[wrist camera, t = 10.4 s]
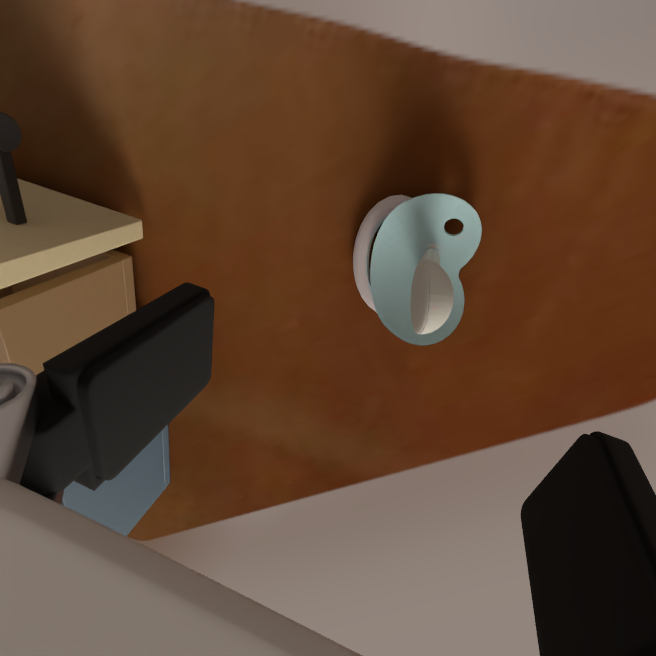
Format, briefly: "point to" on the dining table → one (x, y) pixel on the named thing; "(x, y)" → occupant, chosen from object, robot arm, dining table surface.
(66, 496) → the cabinet
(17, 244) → the drawer
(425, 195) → the pacifier
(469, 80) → the dining table surface
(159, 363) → the robot arm
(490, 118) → the dining table surface
